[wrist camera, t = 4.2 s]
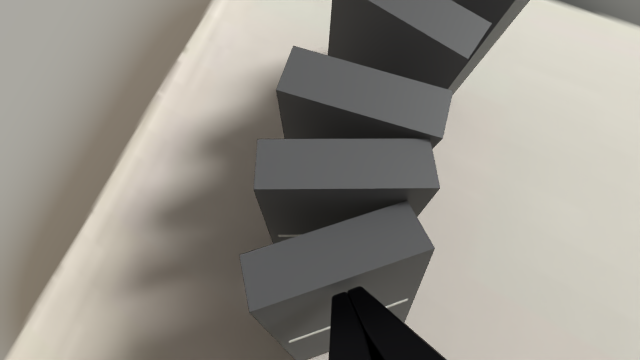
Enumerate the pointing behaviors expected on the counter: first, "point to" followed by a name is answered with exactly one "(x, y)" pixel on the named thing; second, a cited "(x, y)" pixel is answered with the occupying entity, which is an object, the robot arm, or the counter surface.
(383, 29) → the domino
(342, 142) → the domino
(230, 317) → the counter surface
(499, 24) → the domino
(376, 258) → the domino
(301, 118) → the domino
